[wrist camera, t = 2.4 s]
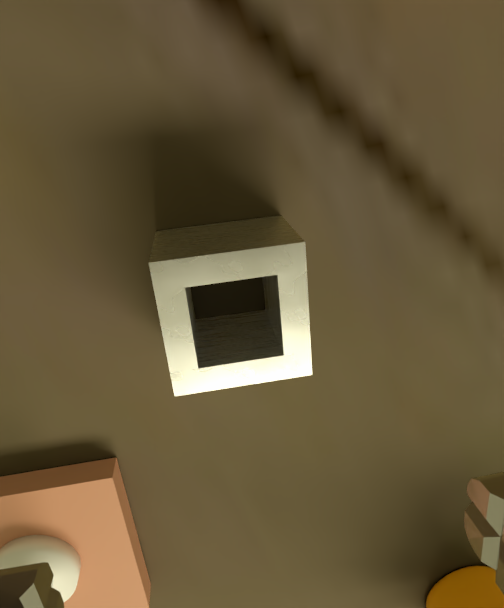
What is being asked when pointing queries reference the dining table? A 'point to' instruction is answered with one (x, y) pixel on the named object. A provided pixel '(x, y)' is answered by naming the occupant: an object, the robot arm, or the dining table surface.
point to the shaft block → (76, 533)
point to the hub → (236, 327)
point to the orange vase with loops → (467, 590)
